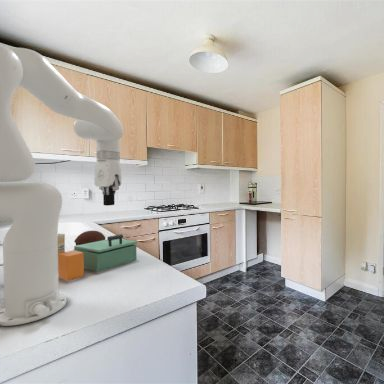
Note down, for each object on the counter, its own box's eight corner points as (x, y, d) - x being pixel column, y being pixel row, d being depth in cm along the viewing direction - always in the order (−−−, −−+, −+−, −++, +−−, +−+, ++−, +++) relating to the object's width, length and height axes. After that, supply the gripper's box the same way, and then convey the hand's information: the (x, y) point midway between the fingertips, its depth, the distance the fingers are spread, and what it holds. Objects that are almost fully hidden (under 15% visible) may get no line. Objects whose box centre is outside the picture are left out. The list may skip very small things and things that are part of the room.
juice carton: (84, 278, 76) (83, 252, 76) (67, 283, 72) (67, 256, 72) (74, 274, 79) (74, 250, 79) (58, 279, 75) (58, 253, 75)
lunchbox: (136, 261, 93) (136, 244, 93) (97, 273, 80) (97, 254, 80) (113, 255, 100) (113, 240, 100) (74, 266, 87) (74, 248, 87)
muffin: (83, 250, 107) (83, 229, 107) (110, 249, 109) (109, 228, 109) (68, 258, 96) (67, 234, 95) (98, 257, 98) (97, 233, 97)
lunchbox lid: (137, 243, 92) (137, 232, 92) (98, 252, 79) (98, 239, 79) (113, 240, 100) (112, 229, 100) (74, 248, 87) (73, 236, 87)
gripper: (86, 156, 88) (87, 204, 88) (110, 155, 81) (110, 207, 82) (107, 158, 94) (107, 203, 95) (130, 157, 88) (130, 205, 88)
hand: (109, 205), depth 88 cm, fingers closed
